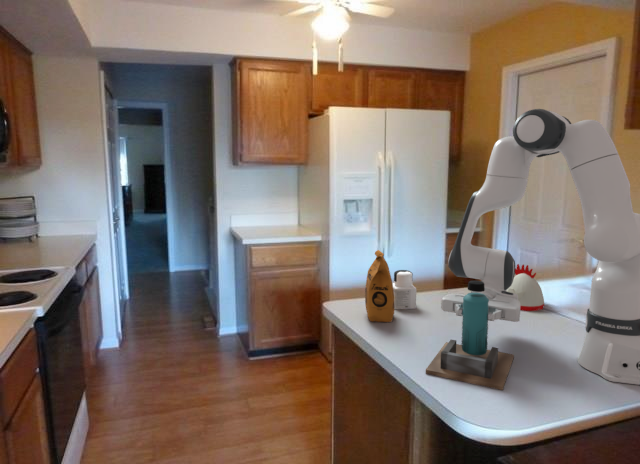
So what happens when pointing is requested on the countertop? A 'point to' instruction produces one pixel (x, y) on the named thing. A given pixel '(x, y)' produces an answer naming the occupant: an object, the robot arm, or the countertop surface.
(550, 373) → the countertop surface
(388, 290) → the coffee package
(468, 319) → the beverage bottle
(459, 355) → the bottle dock
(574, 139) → the robot arm
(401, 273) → the container
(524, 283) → the kitchen timer
